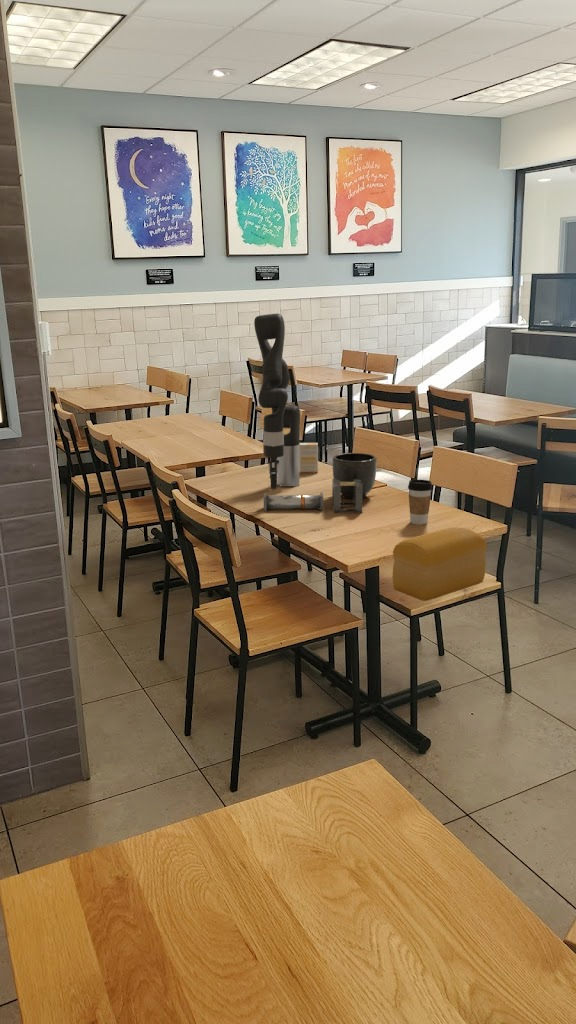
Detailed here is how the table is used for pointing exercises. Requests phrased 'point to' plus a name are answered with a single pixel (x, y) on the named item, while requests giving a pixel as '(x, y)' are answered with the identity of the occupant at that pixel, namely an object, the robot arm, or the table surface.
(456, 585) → the bread
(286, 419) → the robot arm
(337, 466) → the planter
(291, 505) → the tube
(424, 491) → the coffee cup
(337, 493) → the hollow square frame
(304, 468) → the supplement box
